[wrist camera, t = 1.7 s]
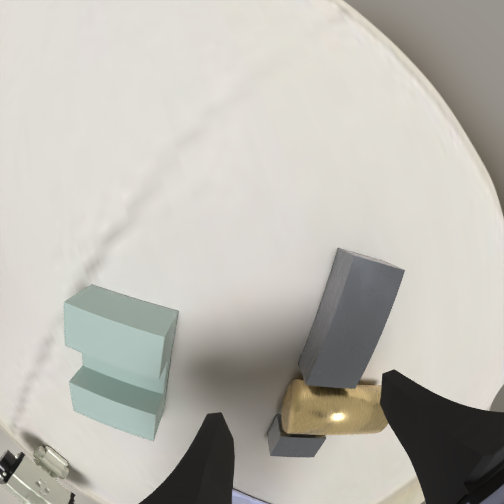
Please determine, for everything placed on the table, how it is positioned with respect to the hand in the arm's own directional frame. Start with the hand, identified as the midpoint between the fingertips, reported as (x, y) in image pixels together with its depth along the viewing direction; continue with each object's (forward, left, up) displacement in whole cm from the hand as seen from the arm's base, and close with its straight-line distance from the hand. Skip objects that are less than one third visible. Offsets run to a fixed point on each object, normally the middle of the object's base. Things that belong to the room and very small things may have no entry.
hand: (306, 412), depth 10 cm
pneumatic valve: (+1, +37, -9) cm, 38 cm away
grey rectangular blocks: (-5, -1, -9) cm, 10 cm away
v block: (+6, +11, -9) cm, 15 cm away
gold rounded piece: (-8, +1, -7) cm, 11 cm away
